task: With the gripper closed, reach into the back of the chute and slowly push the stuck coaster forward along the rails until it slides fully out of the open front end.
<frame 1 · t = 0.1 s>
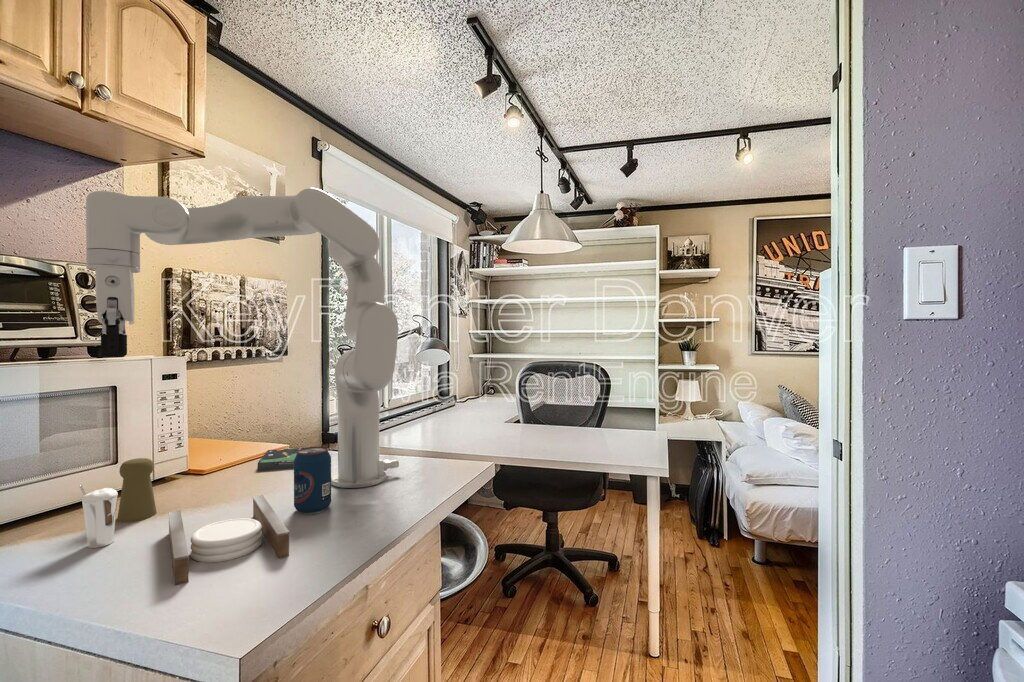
hand: (114, 356, 87), 31 cm above the worktop, fingers open, 9 cm apart
soda can: (312, 510, 96), on the worktop
olive pepper shaker: (137, 517, 92), on the worktop
chute: (225, 544, 80), on the worktop
coaster: (227, 551, 78), on the worktop
milkshake: (98, 545, 80), on the worktop
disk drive: (283, 464, 132), on the worktop
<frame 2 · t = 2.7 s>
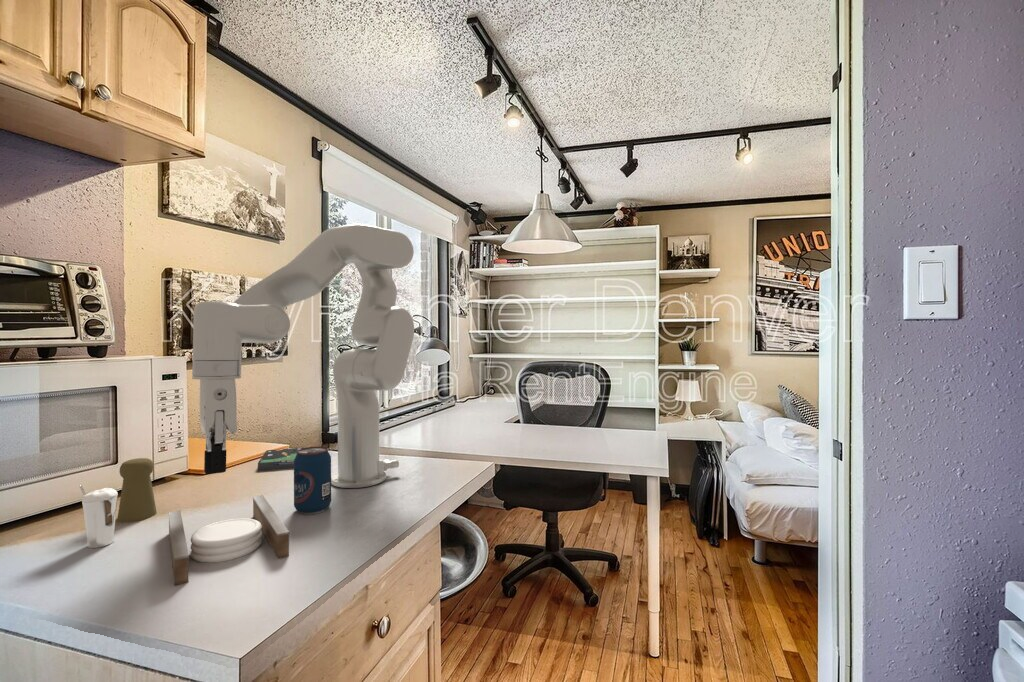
hand: (215, 472, 86), 10 cm above the worktop, fingers closed
nothing on the worktop moved.
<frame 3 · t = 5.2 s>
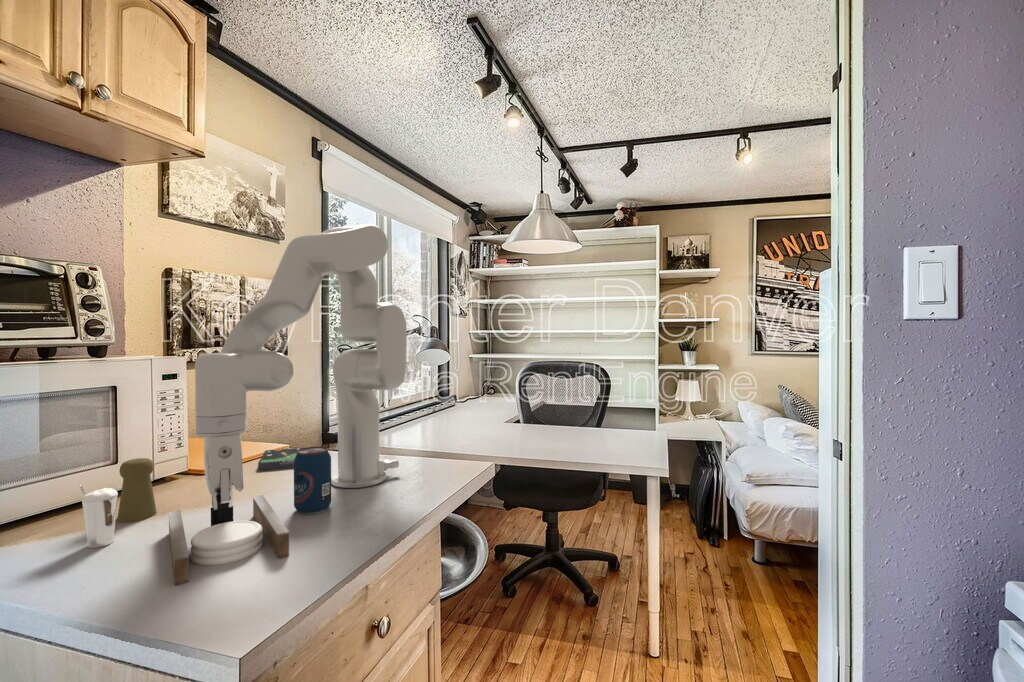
hand: (222, 529, 83), 1 cm above the worktop, fingers closed
coaster: (227, 553, 77), on the worktop, touching gripper
everything else where it was.
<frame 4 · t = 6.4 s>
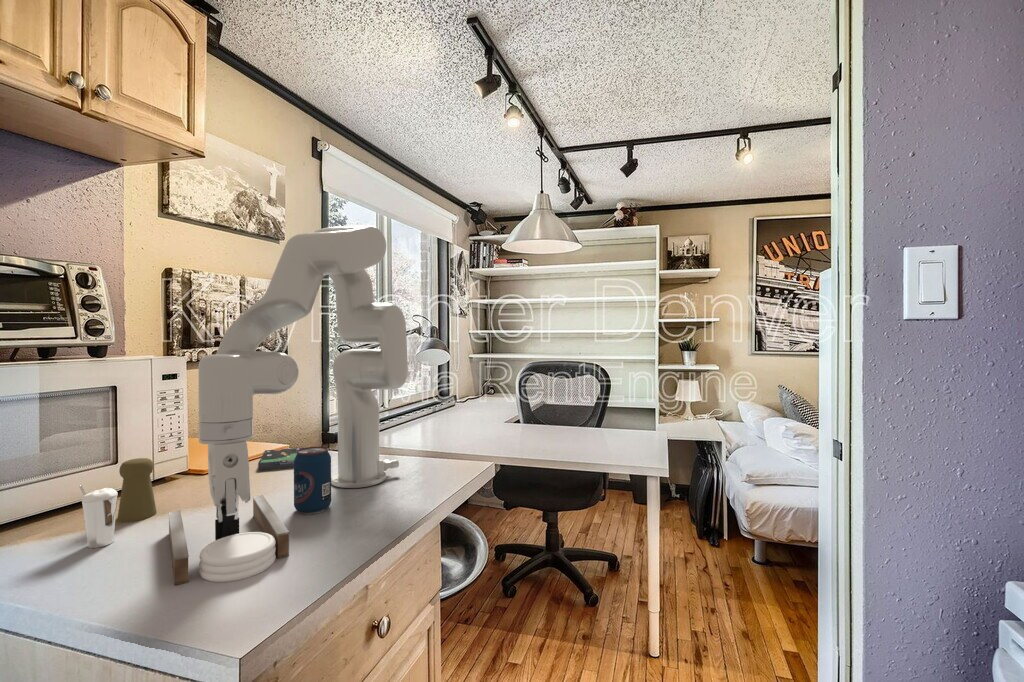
hand: (227, 543, 77), 1 cm above the worktop, fingers closed
coaster: (239, 568, 72), on the worktop
everything else where it was.
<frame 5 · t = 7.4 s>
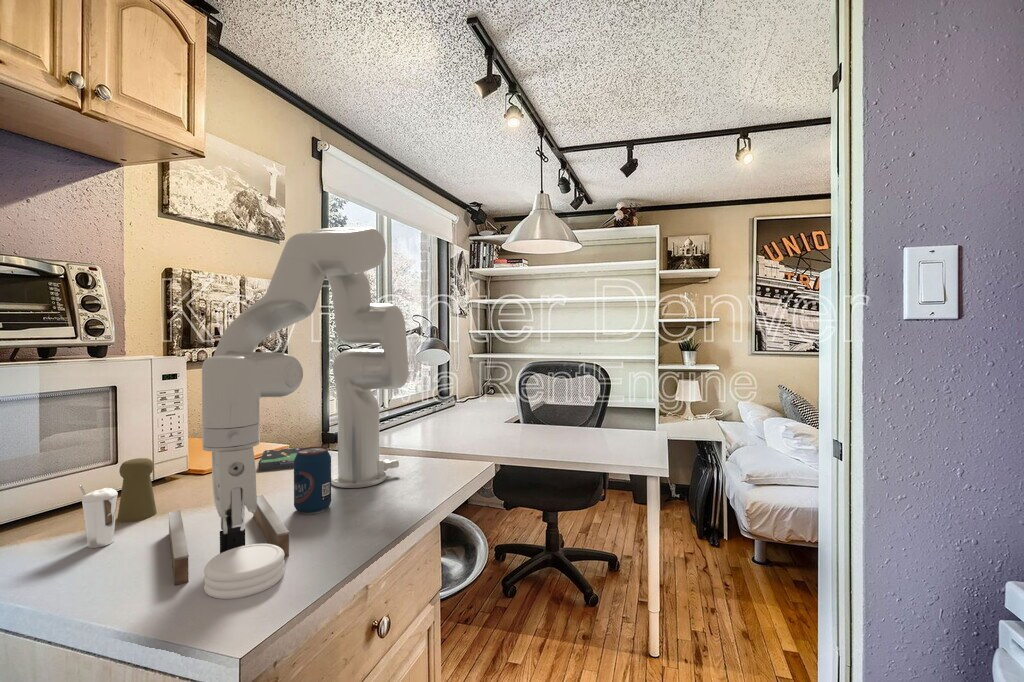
hand: (232, 555, 73), 1 cm above the worktop, fingers closed
coaster: (245, 583, 68), on the worktop
everything else where it was.
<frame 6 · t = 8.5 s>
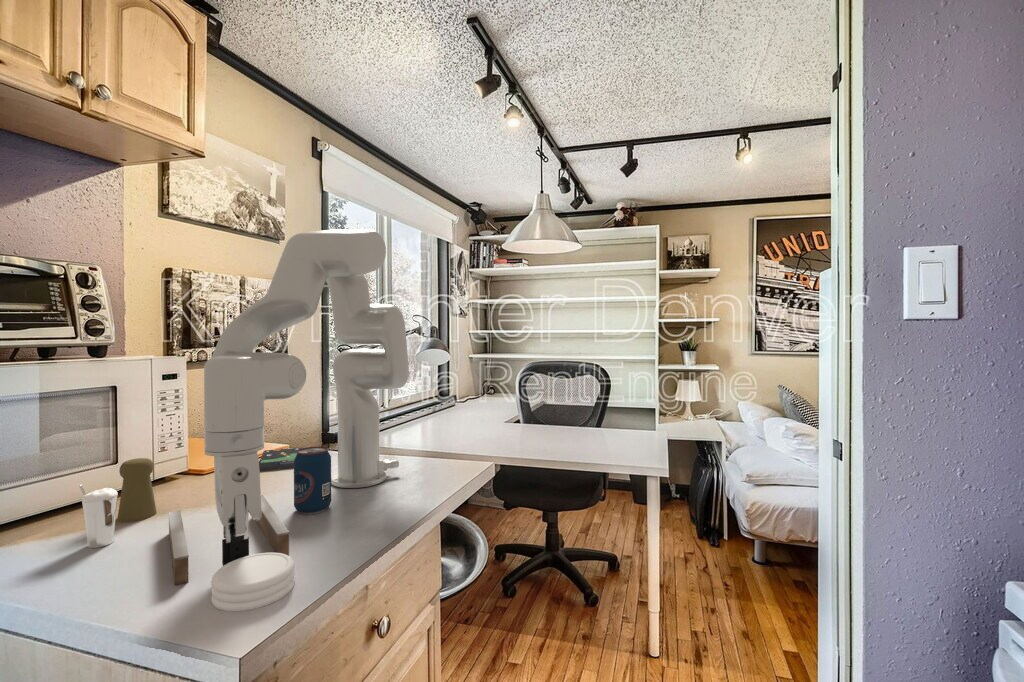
hand: (235, 565, 70), 1 cm above the worktop, fingers closed
coaster: (254, 594, 65), on the worktop
everything else where it was.
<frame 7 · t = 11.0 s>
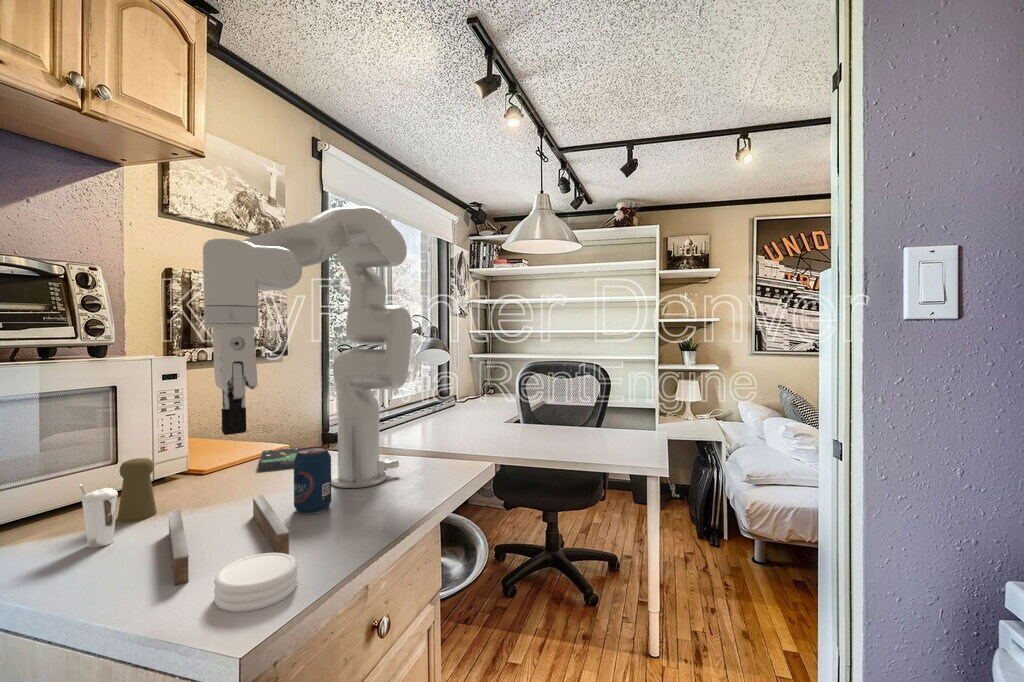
hand: (234, 432, 77), 19 cm above the worktop, fingers closed
nothing on the worktop moved.
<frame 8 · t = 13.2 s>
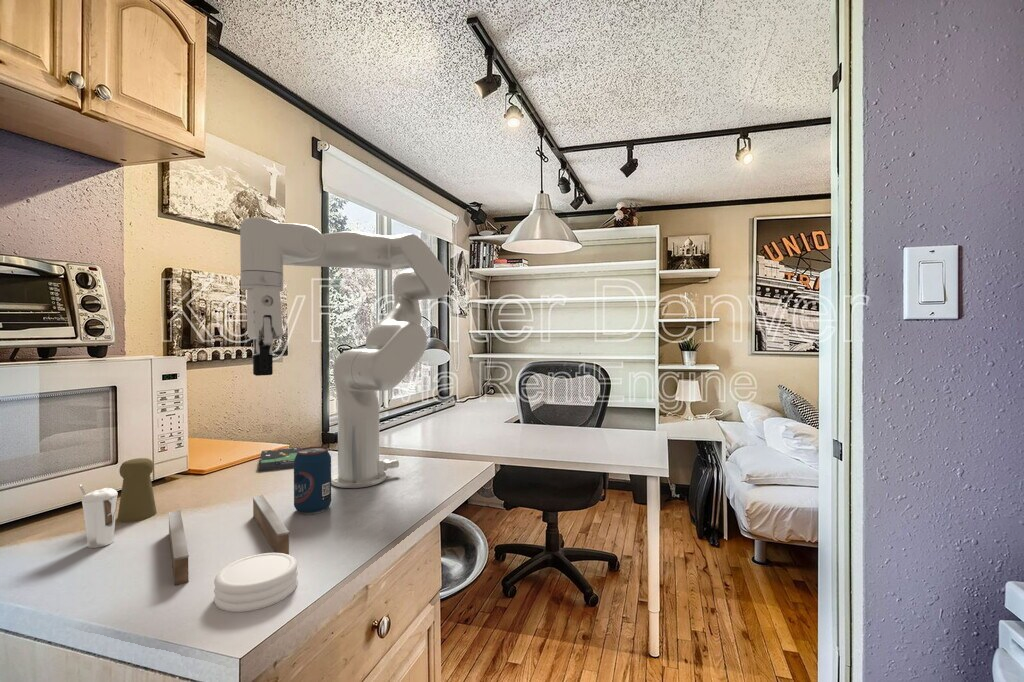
hand: (263, 374, 95), 27 cm above the worktop, fingers closed
nothing on the worktop moved.
at the end: coaster inside the target area (2.7 cm from its centre), on the worktop; coaster moved 17.8 cm from its start; coaster tilted 0° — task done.
